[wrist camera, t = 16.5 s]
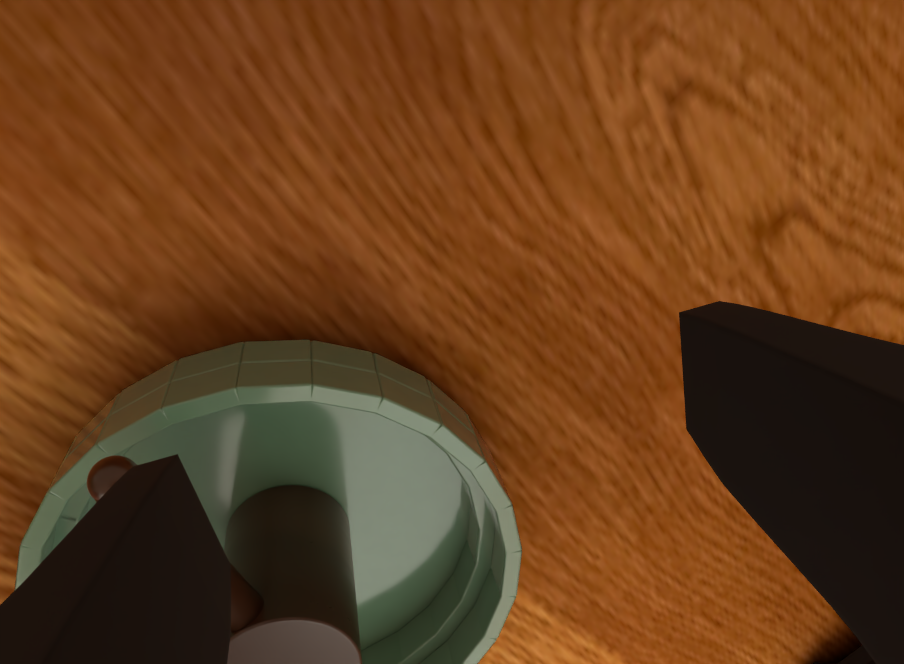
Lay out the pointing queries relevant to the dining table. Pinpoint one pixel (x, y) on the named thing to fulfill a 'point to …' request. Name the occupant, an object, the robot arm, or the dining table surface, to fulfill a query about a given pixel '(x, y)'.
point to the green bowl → (326, 480)
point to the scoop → (281, 574)
